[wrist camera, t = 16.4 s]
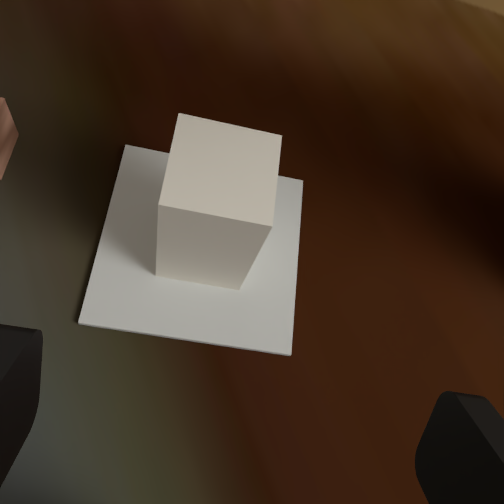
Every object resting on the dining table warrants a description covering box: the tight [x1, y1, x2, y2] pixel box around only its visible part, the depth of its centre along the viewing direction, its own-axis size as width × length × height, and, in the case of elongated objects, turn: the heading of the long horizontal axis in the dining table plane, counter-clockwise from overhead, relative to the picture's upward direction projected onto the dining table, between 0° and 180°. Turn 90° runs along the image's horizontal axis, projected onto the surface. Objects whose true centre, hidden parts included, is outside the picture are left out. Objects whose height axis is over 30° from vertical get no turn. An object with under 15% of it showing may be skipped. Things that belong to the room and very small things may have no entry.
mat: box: [78, 145, 303, 356], centre depth 34 cm, size 14×14×1 cm
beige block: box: [156, 113, 282, 290], centre depth 29 cm, size 6×6×10 cm
